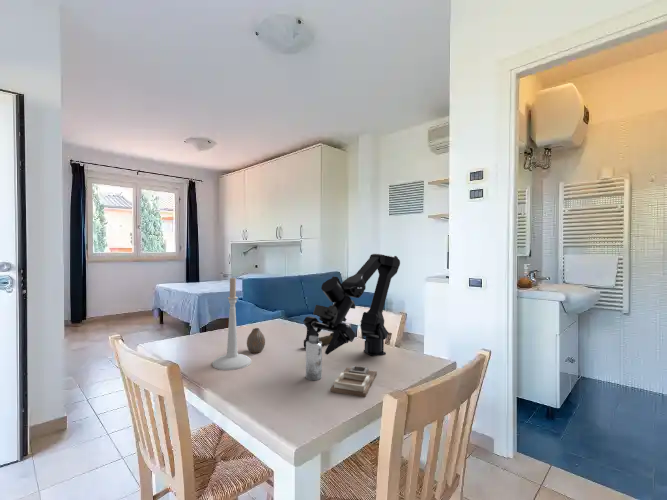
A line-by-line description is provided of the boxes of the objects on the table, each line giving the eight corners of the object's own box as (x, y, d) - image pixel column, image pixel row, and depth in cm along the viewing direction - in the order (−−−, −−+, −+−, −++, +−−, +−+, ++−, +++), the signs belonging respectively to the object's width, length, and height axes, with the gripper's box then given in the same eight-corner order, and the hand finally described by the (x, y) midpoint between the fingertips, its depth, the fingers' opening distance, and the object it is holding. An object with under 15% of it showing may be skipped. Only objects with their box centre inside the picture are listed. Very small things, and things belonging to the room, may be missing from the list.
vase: (242, 352, 129) (243, 329, 129) (253, 347, 136) (253, 325, 135) (258, 355, 127) (258, 331, 126) (268, 350, 133) (268, 327, 133)
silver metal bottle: (318, 373, 110) (318, 333, 110) (323, 379, 105) (324, 337, 105) (303, 375, 108) (303, 334, 108) (308, 381, 103) (309, 338, 103)
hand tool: (308, 351, 133) (308, 339, 133) (302, 348, 137) (303, 336, 136) (346, 343, 144) (346, 332, 144) (340, 341, 148) (340, 330, 147)
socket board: (346, 370, 112) (346, 363, 112) (376, 374, 109) (376, 366, 109) (330, 391, 96) (330, 382, 96) (365, 397, 93) (365, 387, 93)
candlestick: (256, 358, 123) (257, 275, 123) (241, 371, 111) (242, 279, 110) (223, 356, 125) (224, 274, 125) (205, 368, 113) (205, 278, 112)
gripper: (307, 292, 117) (282, 330, 109) (350, 299, 104) (324, 342, 96) (323, 312, 123) (299, 349, 115) (364, 320, 110) (342, 363, 102)
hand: (315, 350), depth 107 cm, fingers open, 9 cm apart
